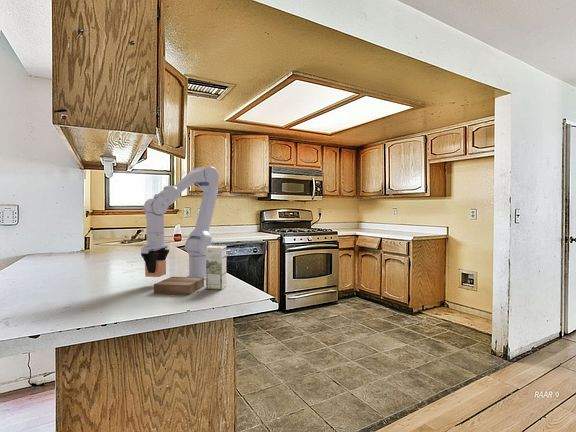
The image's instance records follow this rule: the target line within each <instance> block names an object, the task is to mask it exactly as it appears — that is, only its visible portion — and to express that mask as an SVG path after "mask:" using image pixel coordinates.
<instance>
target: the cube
mask: <svg viewBox="0 0 576 432" xmlns="http://www.w3.org/2000/svg"><path fill="white" fill-rule="evenodd" d="M144 272H145V273H144V276H145V277H149V278H150V277H151V278H160V277H162V276H165V275H166V274H167V260H157V261H156V269H155V273H148V270H147V266H146V263H145V262H144Z"/></svg>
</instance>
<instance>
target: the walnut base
mask: <svg viewBox="0 0 576 432" xmlns="http://www.w3.org/2000/svg"><path fill="white" fill-rule="evenodd" d="M203 287H205V279H204V278H197V277H187V276H170V277H168V278H166V279H163V280H160V281H158V282H155V283H154V284H153V294H155V295H157V294H158V295H178V296H179V295H180V296H181V295H182V296H186V295H187V296H190V295H192V294H194V293H195V292H197V291H199V290H200V289H202V288H203Z"/></svg>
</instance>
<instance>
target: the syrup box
mask: <svg viewBox="0 0 576 432" xmlns="http://www.w3.org/2000/svg"><path fill="white" fill-rule="evenodd" d="M205 284H206V285H205V290H223V288H224V289H225V288H226V287H227V245H216V244H215V245H210V246H207V247H206V279H205Z"/></svg>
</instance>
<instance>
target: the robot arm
mask: <svg viewBox="0 0 576 432" xmlns="http://www.w3.org/2000/svg"><path fill="white" fill-rule="evenodd" d="M219 178H220V173H219V172H218V170H217V169H216V167H215V166H212V165H208V166H202V167H194V168H193V169H191V170H189V172H188V173H187V174H186V175H185V176H184V177H182V178H181V179H180V180H179V181H177V183H176V184H174V185H165V186H164V187H163V190H161V191H160V192H159V193H155V194H154V195H153V198H148V199H147V200H145V202H144V203H143V206H142V211H143V212H144V213H145V218H146V219H145V221H146V224H145V225H146V244H144V245H143V246H142V247H141V248H140V256H141V257H142V259H143V261H144V264H145V263H146V266H147V270H148V273H155V269H156V261H157V260H166V259H167V258H168V257H167V256H168V255H169V253H170V249H169V243H168V242H165V214H166V213H167V211H168V209H169V207H170V206H171V205H172V204H173V203H175V202H176V201H177V200H178V199H180V197H181V193H182V192H184V191H185V190H186V189H187V188H190V187H191V186H192V185H194V184H196V185H197V186H198V187H199V189H201V190H202V191H203V194H202V197H201V202H200V207H199V210H198V214H197V219H196V223H195V226H194V229H193V230H192V231H191V232H190V233H189V235H188V238H187V239H186V241H185V243H184V249H185V251H186V252H187V256H188V275H187V276H186V277H197V278H204V280H206V247H207V246H210V245H212V241H213V237H212V235H211V234H210V227H211V224H212V218H213V215H214V211H215V205H216V202H217V198H218V193H219ZM166 261H167V260H166Z"/></svg>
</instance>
